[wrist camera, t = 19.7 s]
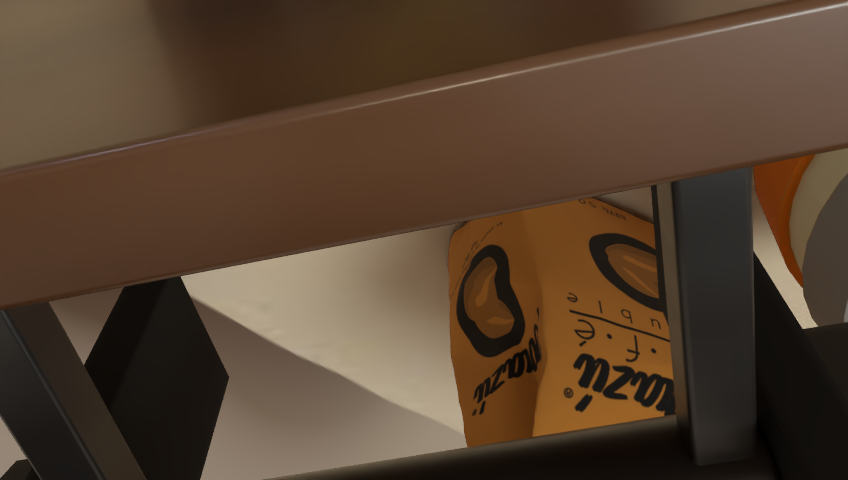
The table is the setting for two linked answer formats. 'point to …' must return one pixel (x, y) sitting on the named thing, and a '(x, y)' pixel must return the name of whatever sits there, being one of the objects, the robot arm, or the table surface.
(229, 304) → the table surface
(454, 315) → the coffee package
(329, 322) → the table surface
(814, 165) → the reusable coffee cup
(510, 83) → the lid
